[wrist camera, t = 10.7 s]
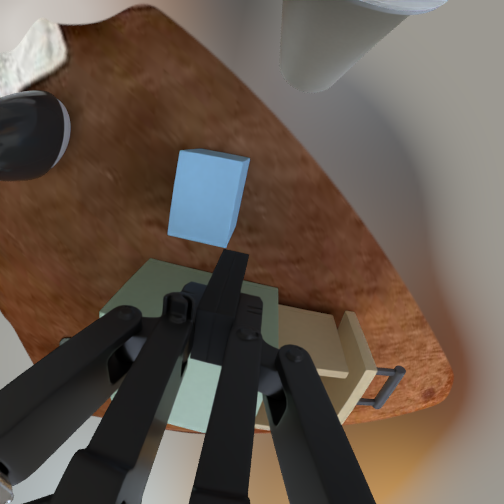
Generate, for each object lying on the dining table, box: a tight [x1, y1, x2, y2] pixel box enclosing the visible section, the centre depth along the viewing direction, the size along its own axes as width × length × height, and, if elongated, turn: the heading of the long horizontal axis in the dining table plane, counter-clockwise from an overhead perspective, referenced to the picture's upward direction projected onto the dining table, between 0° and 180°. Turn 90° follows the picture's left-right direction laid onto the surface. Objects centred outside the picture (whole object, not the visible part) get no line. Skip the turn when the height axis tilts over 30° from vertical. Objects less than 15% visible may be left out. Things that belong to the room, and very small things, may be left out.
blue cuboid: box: [168, 149, 250, 248], centre depth 25 cm, size 7×5×6 cm
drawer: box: [255, 304, 406, 430], centre depth 29 cm, size 20×11×10 cm, turn 78°
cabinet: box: [99, 258, 278, 433], centre depth 29 cm, size 15×13×12 cm
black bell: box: [0, 90, 71, 181], centre depth 20 cm, size 10×10×15 cm
